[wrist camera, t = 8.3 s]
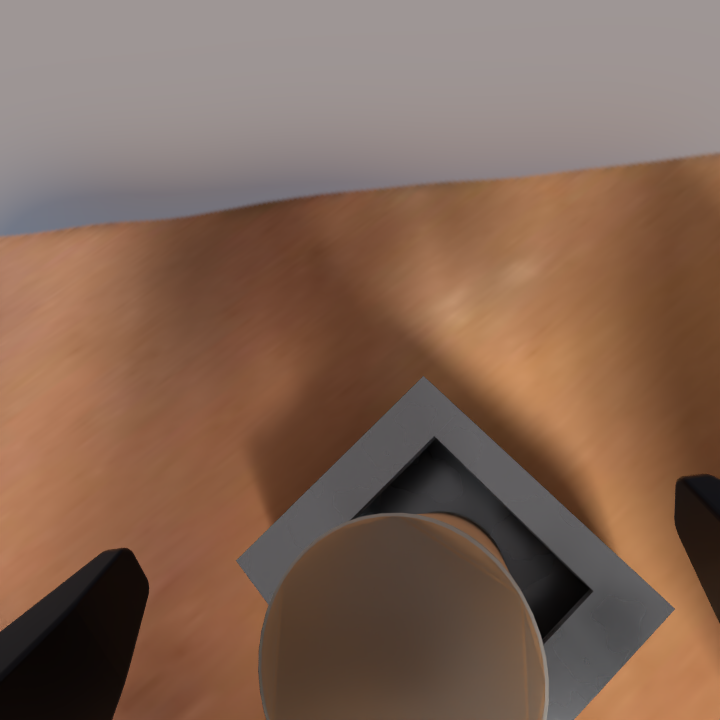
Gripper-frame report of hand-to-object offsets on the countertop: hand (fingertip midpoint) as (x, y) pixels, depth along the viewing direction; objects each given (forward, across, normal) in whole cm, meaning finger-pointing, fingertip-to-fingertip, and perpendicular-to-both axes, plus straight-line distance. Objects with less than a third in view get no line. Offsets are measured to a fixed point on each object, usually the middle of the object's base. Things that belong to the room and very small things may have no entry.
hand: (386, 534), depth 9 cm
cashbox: (+8, 0, +10) cm, 13 cm away
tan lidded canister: (+8, 0, +10) cm, 13 cm away
